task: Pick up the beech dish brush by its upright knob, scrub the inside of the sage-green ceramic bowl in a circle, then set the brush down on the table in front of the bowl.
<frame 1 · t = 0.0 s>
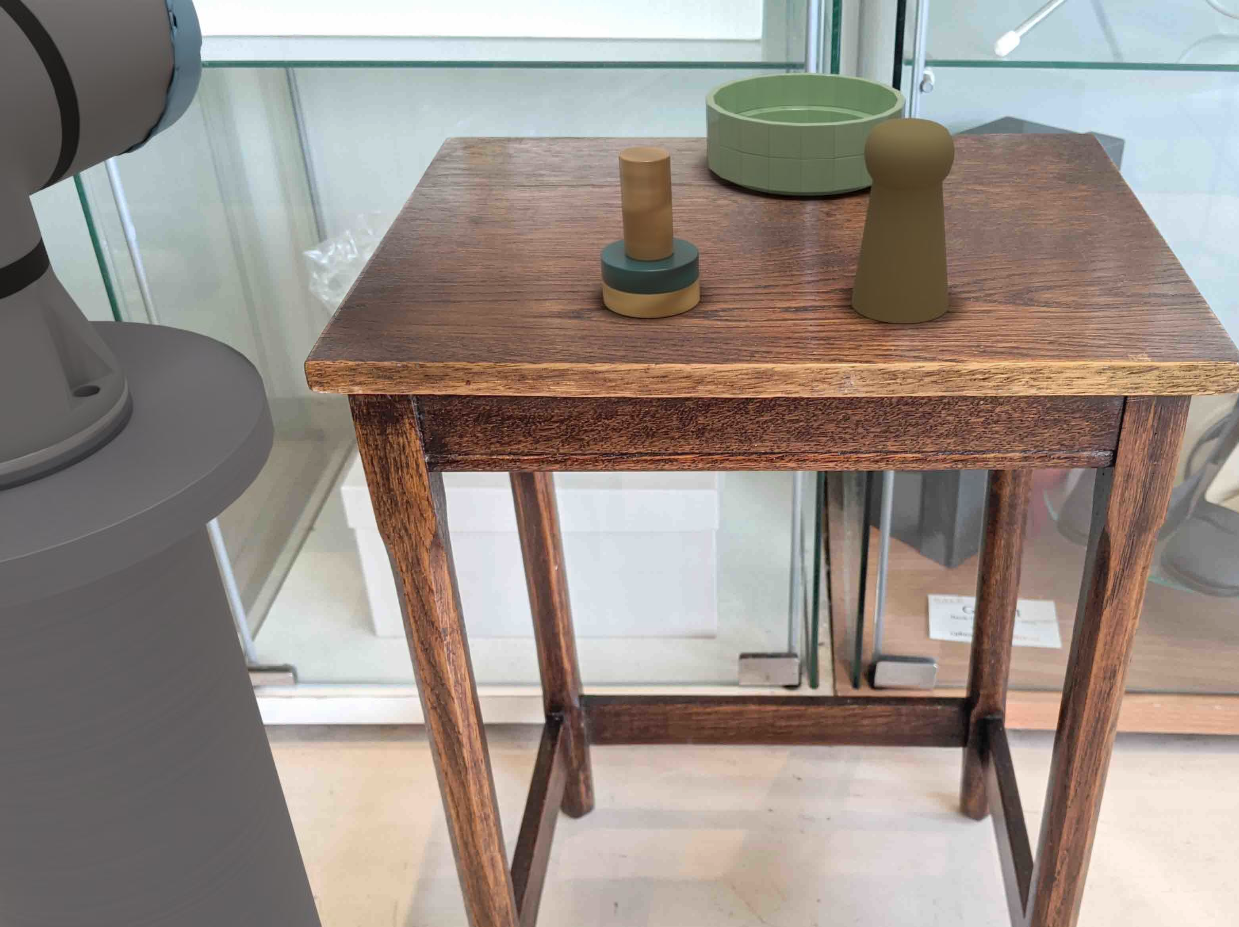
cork: (899, 306, 81), on the table
bowl: (804, 169, 103), on the table
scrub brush: (651, 298, 81), on the table
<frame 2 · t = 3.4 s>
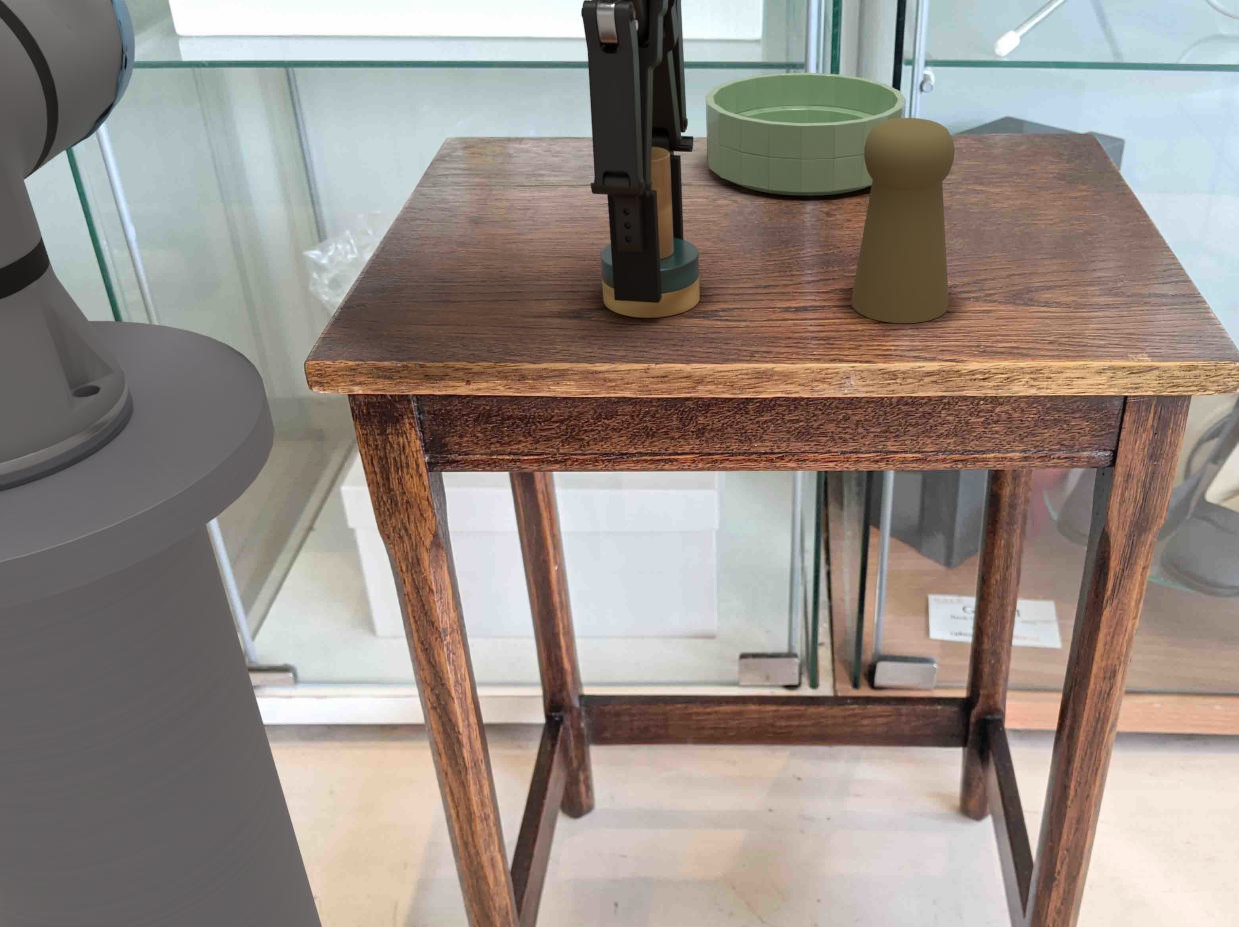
hand: (650, 277, 80), 1 cm above the table, tool pointing down, fingers closed on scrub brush, 6 cm apart
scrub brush: (651, 298, 81), on the table, touching gripper
everything else where it was.
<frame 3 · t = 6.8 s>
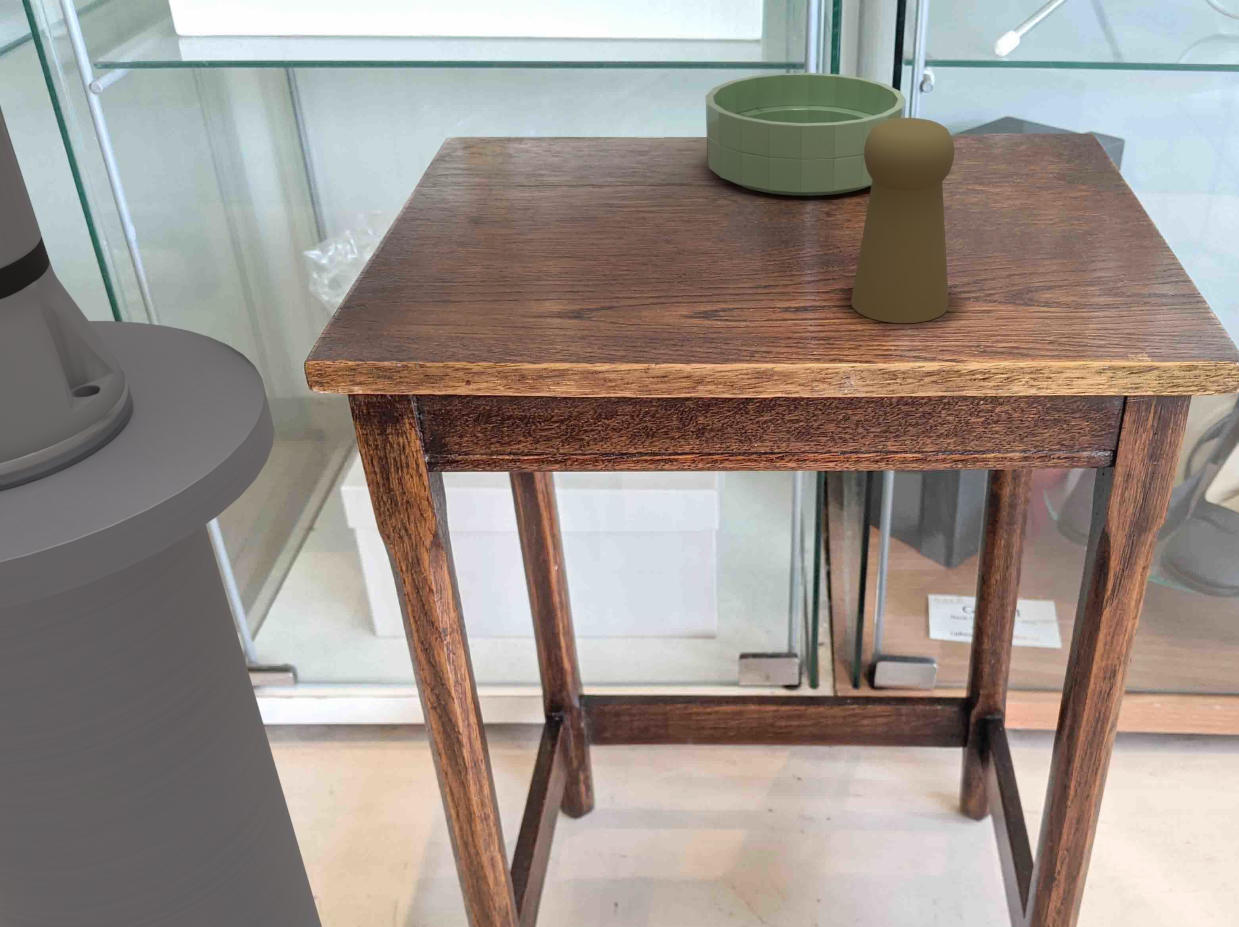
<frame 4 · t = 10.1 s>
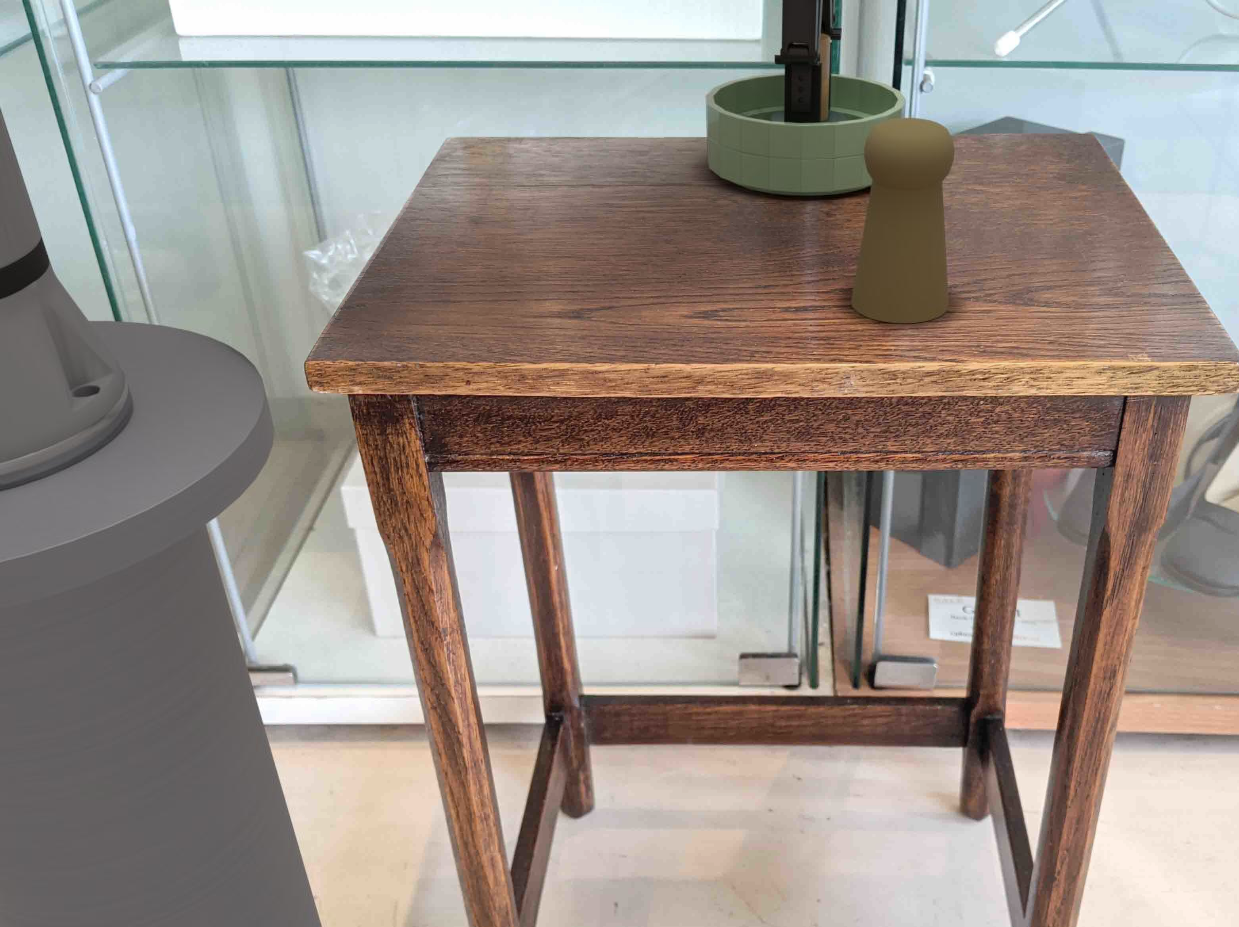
hand: (807, 139, 102), 2 cm above the table, tool pointing down, fingers closed on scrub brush, 6 cm apart
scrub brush: (807, 156, 103), point 1 cm above the table, touching gripper
everything else where it was.
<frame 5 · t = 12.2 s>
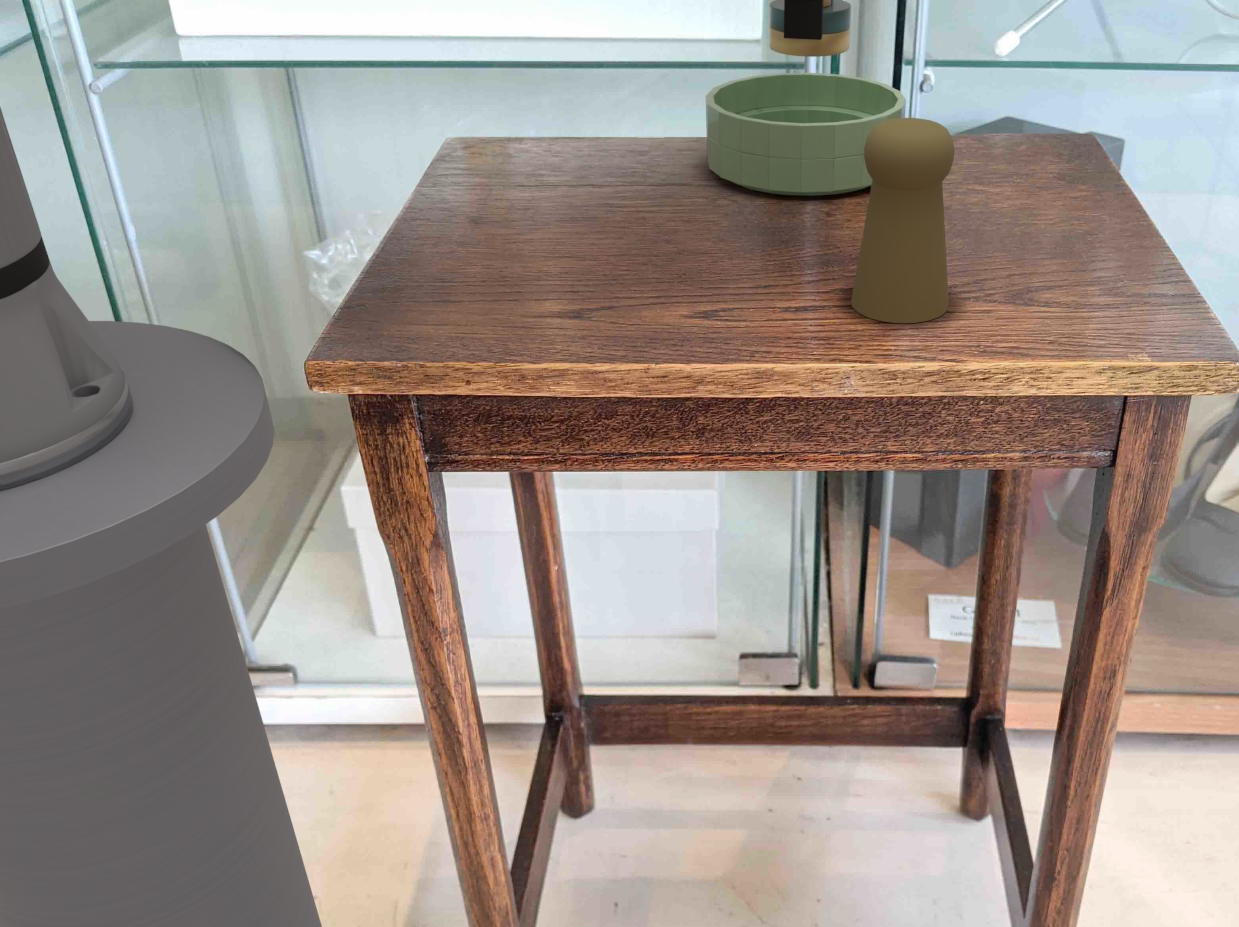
hand: (808, 27, 96), 11 cm above the table, tool pointing down, fingers closed on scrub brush, 6 cm apart
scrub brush: (809, 47, 97), point 9 cm above the table, touching gripper
everything else where it was.
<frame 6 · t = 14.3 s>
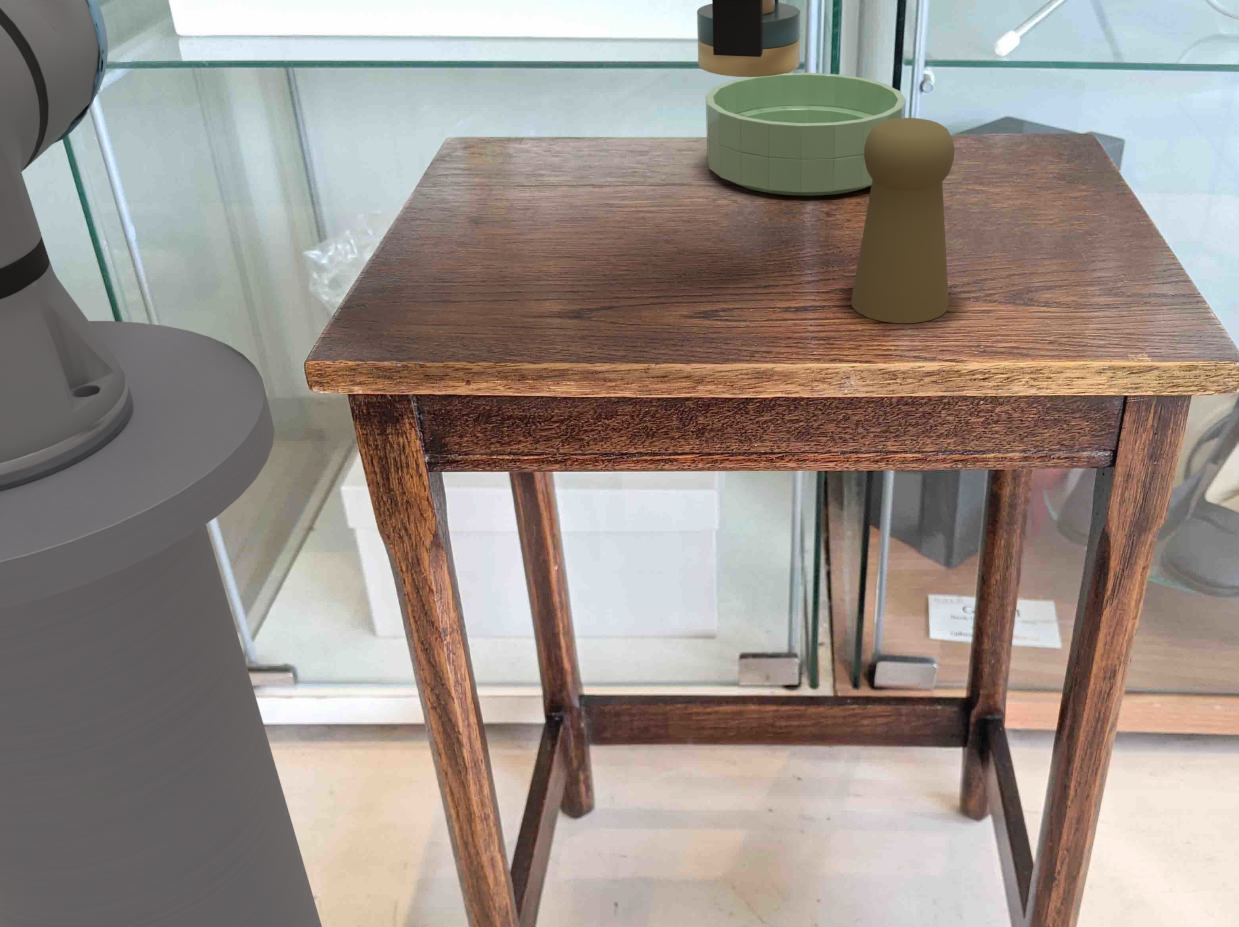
hand: (746, 40, 76), 14 cm above the table, tool pointing down, fingers closed on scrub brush, 6 cm apart
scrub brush: (748, 64, 77), point 13 cm above the table, touching gripper
everything else where it was.
when the fingers open (1 cm above the table, at t = 17.2 s): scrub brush stays where it is, on the table.
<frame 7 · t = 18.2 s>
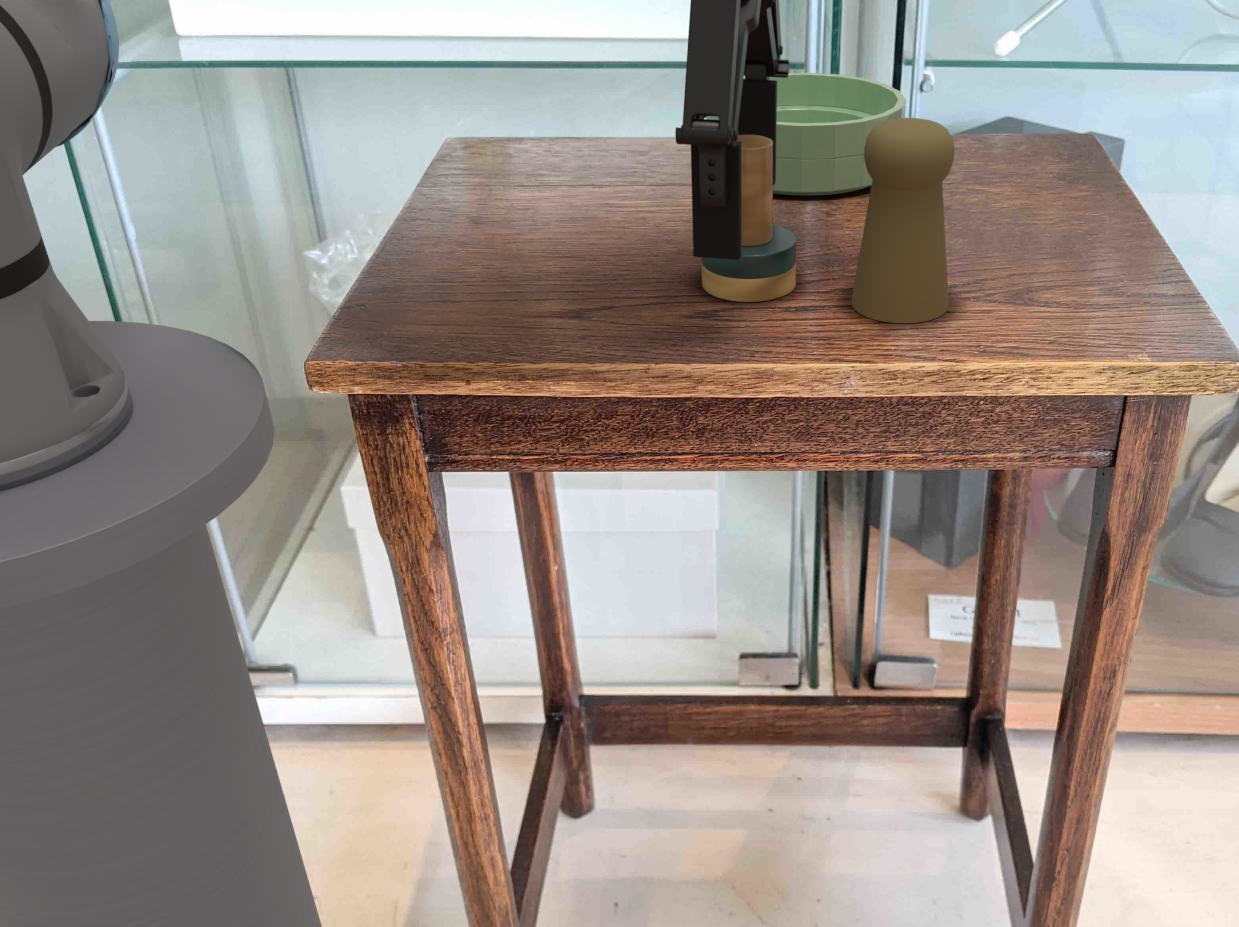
hand: (737, 217, 81), 4 cm above the table, tool pointing down, fingers open, 13 cm apart
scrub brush: (748, 284, 83), on the table
everything else where it was.
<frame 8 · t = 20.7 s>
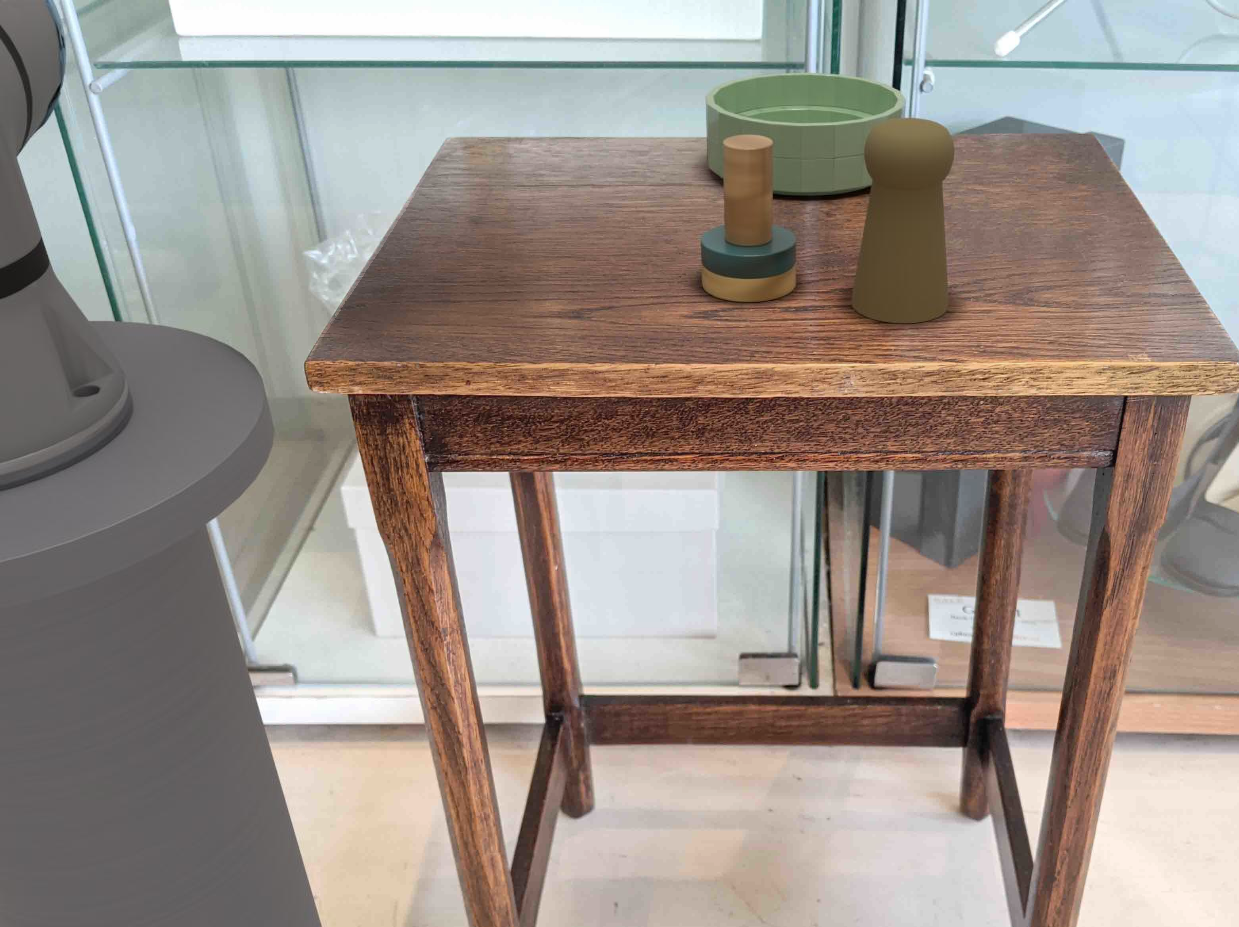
nothing on the table moved.
at the end: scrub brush 0.2 cm from the target spot on the table beside the bowl, on the table; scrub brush tilted 0°; the gripper is holding nothing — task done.
